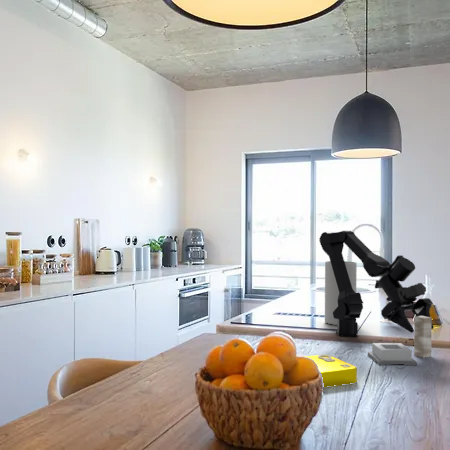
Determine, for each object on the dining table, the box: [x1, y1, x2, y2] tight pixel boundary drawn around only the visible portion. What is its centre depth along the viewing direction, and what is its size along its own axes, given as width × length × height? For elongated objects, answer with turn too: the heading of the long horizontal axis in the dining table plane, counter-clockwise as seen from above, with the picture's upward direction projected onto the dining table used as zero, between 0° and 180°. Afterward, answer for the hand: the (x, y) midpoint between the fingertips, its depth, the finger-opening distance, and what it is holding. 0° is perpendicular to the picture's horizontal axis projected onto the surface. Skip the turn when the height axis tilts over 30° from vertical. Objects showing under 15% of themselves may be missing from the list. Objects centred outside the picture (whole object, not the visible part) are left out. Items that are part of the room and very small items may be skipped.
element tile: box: [304, 354, 358, 388], centre depth 134 cm, size 15×15×5 cm
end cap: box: [367, 342, 418, 366], centre depth 152 cm, size 11×11×4 cm
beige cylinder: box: [413, 315, 433, 359], centre depth 157 cm, size 4×4×12 cm
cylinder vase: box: [324, 260, 358, 326], centre depth 208 cm, size 12×12×25 cm
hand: (422, 330), depth 157 cm, fingers open, 9 cm apart
